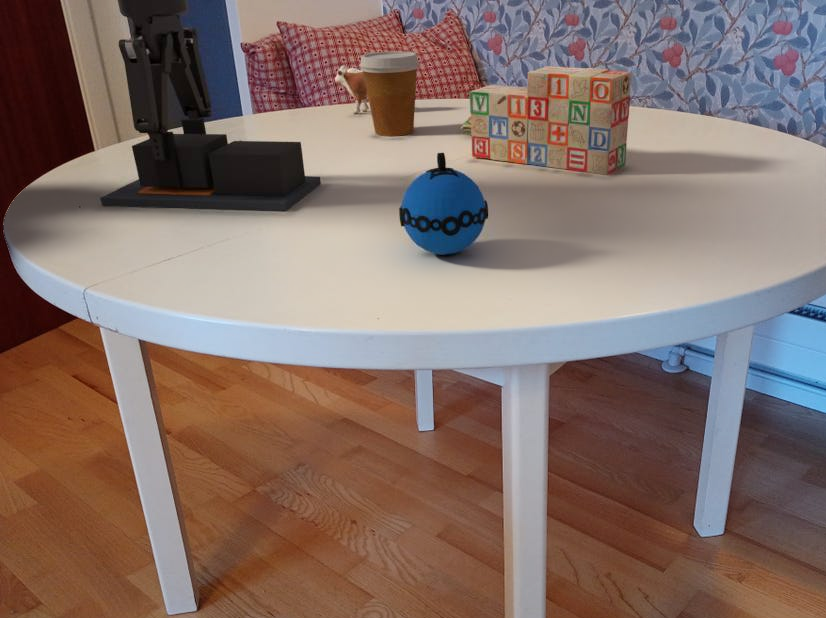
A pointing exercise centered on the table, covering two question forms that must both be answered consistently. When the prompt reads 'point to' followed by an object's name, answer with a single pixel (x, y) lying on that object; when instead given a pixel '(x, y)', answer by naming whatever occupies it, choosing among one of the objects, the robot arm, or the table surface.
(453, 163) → the table surface
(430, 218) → the ornament
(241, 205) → the pad base
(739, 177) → the table surface
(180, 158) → the loose block
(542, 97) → the stack of blocks
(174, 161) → the robot arm
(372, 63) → the disposable coffee cup
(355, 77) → the bull figurine
